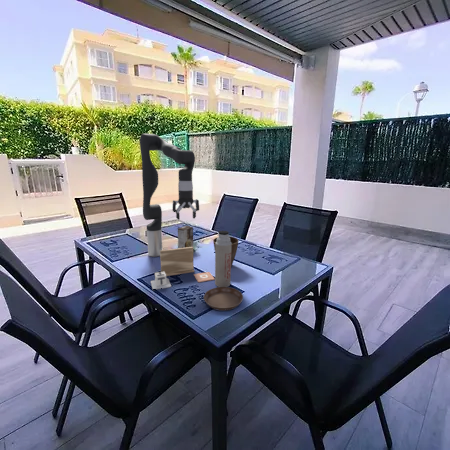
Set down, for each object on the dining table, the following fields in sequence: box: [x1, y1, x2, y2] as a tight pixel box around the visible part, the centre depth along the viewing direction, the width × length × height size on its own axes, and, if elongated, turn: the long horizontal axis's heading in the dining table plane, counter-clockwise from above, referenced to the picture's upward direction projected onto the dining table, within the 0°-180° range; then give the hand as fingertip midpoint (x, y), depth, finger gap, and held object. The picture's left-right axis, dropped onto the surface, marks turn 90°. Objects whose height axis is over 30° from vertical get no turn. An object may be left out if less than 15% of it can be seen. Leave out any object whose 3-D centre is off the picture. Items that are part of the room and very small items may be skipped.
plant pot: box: [212, 236, 239, 267], centre depth 154 cm, size 15×15×16 cm
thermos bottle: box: [214, 230, 232, 287], centre depth 130 cm, size 8×8×28 cm
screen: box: [159, 246, 195, 277], centre depth 144 cm, size 5×18×14 cm, turn 112°
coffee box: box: [177, 225, 194, 248], centre depth 179 cm, size 9×6×16 cm
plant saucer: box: [203, 286, 244, 312], centre depth 117 cm, size 18×18×3 cm
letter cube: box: [154, 271, 167, 286], centre depth 131 cm, size 5×5×5 cm
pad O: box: [193, 271, 215, 283], centre depth 140 cm, size 9×9×1 cm
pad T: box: [150, 277, 172, 290], centre depth 132 cm, size 9×9×1 cm
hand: (186, 218), depth 142 cm, fingers open, 8 cm apart
